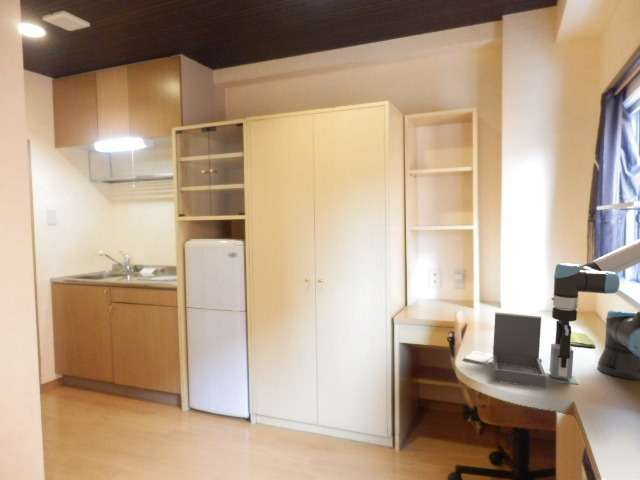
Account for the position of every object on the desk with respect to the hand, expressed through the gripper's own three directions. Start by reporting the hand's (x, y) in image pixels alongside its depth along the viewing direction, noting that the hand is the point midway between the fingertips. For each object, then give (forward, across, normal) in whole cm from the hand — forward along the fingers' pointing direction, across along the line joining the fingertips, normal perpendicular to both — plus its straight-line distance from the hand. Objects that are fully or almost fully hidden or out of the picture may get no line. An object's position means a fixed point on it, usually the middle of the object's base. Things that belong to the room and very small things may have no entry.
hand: (560, 372), depth 158 cm
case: (+2, +1, -14) cm, 14 cm away
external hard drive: (+3, -12, -27) cm, 30 cm away
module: (+1, 0, 0) cm, 1 cm away
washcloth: (+3, -54, +14) cm, 56 cm away
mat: (+2, 0, 0) cm, 2 cm away
